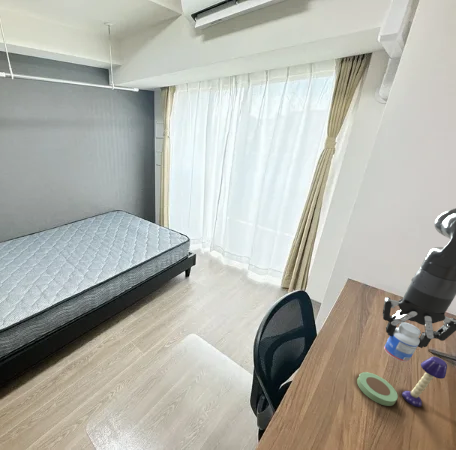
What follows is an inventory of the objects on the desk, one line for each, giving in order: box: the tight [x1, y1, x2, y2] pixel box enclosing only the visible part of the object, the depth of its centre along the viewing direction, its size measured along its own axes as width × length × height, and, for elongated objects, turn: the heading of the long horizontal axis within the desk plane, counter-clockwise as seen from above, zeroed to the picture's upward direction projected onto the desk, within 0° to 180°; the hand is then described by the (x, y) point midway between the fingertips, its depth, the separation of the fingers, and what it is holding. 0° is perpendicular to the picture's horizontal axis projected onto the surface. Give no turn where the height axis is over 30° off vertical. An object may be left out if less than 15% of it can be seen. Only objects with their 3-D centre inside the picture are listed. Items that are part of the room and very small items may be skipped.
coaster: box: [356, 371, 399, 407], centre depth 74 cm, size 9×9×2 cm
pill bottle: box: [383, 321, 422, 363], centre depth 67 cm, size 6×5×10 cm
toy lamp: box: [401, 356, 448, 408], centre depth 69 cm, size 5×5×17 cm
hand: (404, 339), depth 66 cm, fingers closed on pill bottle, 5 cm apart
